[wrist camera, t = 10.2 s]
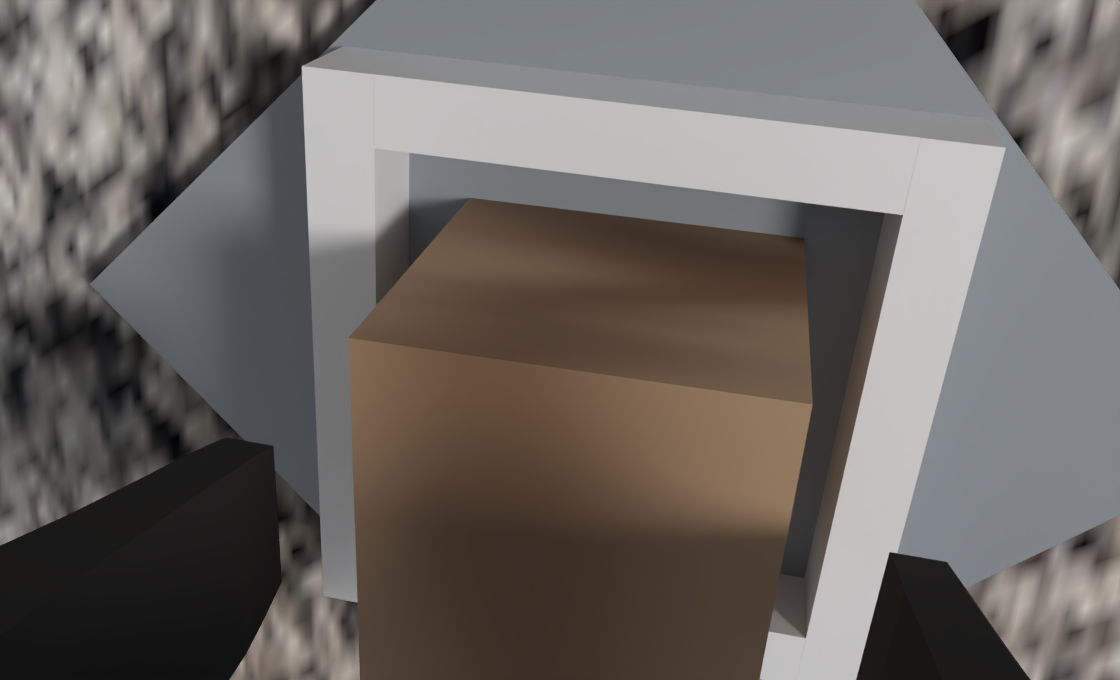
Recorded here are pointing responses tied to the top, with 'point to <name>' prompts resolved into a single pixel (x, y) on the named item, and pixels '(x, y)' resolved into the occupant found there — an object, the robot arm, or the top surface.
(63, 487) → the top surface
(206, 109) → the top surface
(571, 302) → the block
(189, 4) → the top surface
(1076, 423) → the base plate
